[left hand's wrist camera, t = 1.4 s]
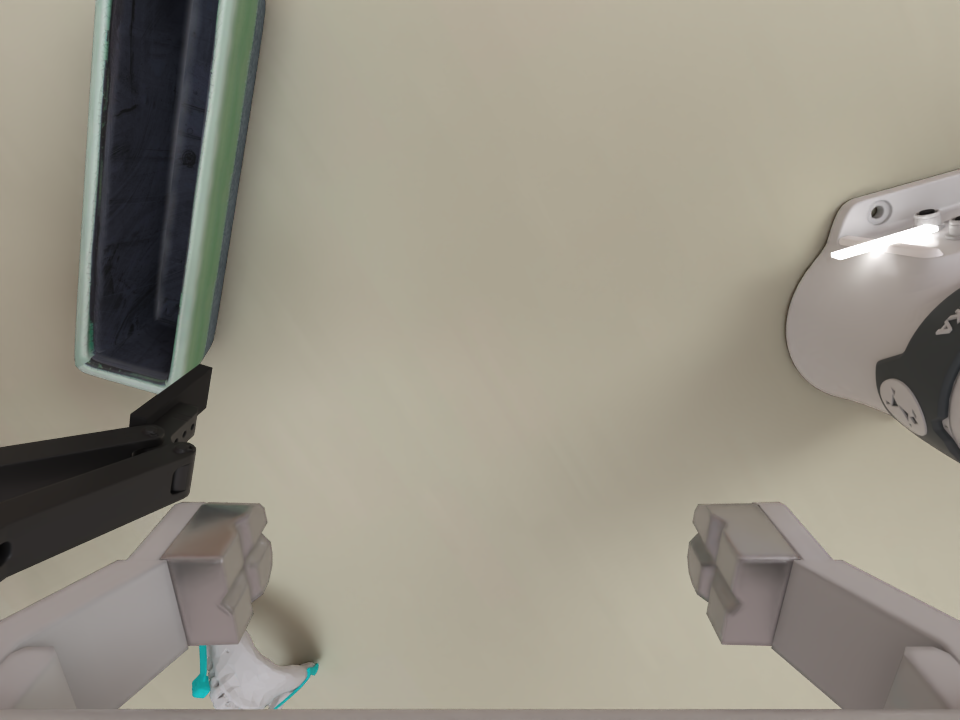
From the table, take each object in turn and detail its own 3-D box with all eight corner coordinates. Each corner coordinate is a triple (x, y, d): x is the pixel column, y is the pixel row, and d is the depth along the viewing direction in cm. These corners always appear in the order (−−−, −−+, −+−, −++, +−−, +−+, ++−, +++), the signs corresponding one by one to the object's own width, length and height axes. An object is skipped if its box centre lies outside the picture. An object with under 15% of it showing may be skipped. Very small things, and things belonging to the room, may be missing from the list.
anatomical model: (330, 724, 47) (251, 801, 48) (345, 637, 57) (280, 702, 58) (180, 625, 43) (98, 710, 44) (224, 552, 53) (157, 622, 54)
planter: (174, -59, 35) (98, -111, 28) (288, -19, 35) (240, -58, 28) (134, 337, 44) (70, 371, 37) (224, 364, 45) (177, 401, 38)
